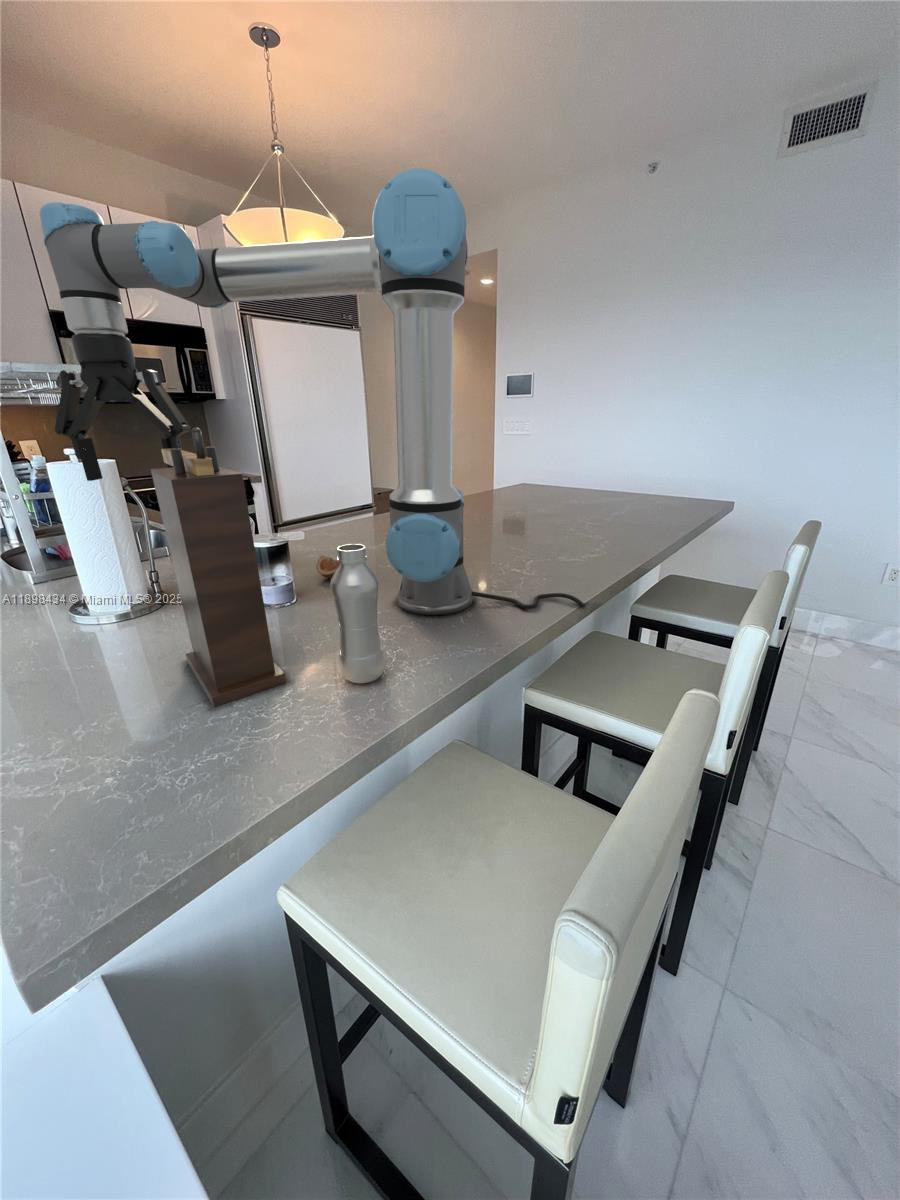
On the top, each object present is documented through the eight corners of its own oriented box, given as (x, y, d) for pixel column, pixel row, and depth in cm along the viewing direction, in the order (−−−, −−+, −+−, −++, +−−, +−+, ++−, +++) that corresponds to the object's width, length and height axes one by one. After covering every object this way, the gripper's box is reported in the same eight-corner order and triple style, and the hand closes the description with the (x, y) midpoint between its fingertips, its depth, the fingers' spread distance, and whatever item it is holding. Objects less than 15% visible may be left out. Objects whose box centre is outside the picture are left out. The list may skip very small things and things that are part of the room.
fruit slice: (357, 578, 115) (356, 557, 113) (336, 586, 110) (334, 565, 108) (333, 572, 119) (331, 552, 118) (311, 579, 114) (309, 559, 112)
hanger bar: (214, 474, 60) (205, 427, 58) (197, 476, 59) (187, 427, 57) (178, 461, 75) (170, 423, 73) (164, 462, 74) (155, 424, 72)
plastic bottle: (377, 691, 69) (366, 555, 62) (333, 686, 71) (317, 553, 63) (391, 668, 75) (383, 542, 68) (350, 664, 76) (337, 540, 69)
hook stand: (286, 682, 72) (249, 448, 60) (214, 707, 66) (156, 453, 54) (251, 644, 83) (214, 442, 71) (187, 662, 78) (135, 446, 66)
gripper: (195, 337, 77) (220, 474, 85) (36, 339, 77) (76, 477, 85) (170, 330, 70) (200, 481, 78) (-4, 332, 70) (43, 483, 78)
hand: (136, 479), depth 81 cm, fingers open, 13 cm apart
